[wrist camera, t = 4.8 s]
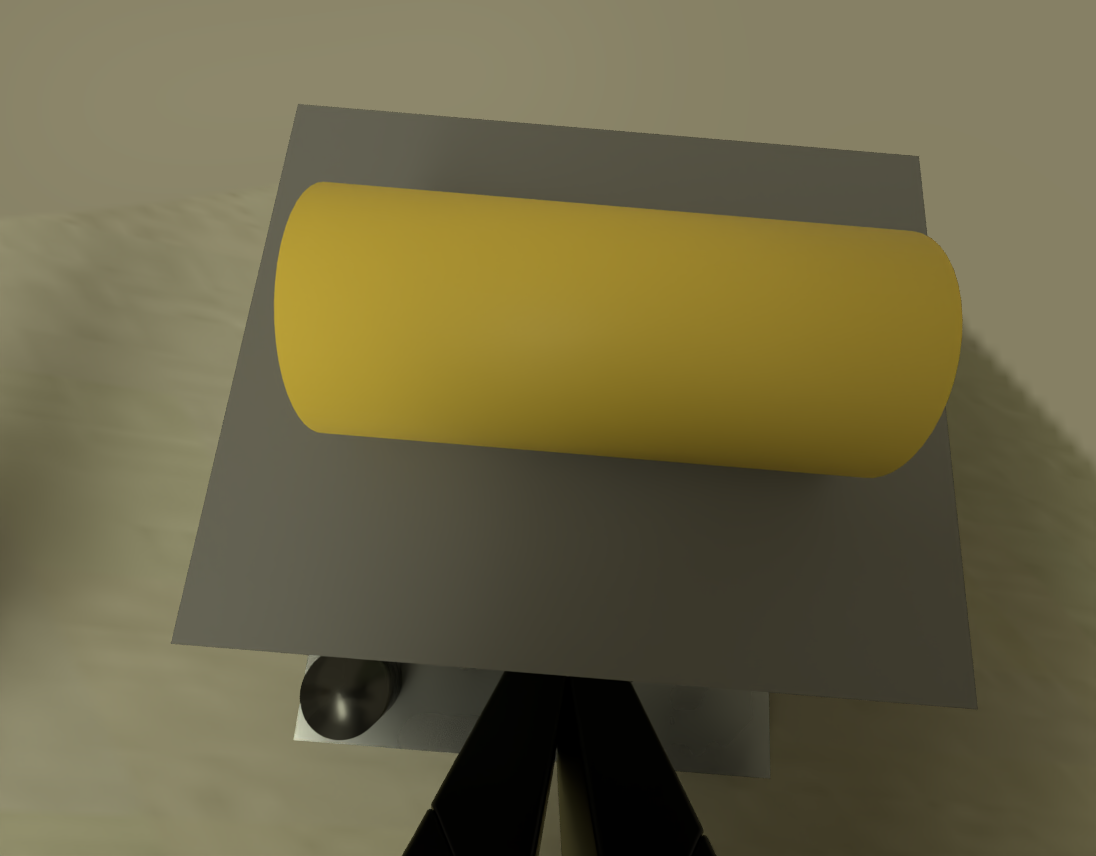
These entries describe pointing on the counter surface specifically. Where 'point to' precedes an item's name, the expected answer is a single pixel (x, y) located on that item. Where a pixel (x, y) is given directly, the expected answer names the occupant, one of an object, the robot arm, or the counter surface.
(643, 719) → the robot arm
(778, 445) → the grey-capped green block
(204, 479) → the counter surface
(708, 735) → the plate
